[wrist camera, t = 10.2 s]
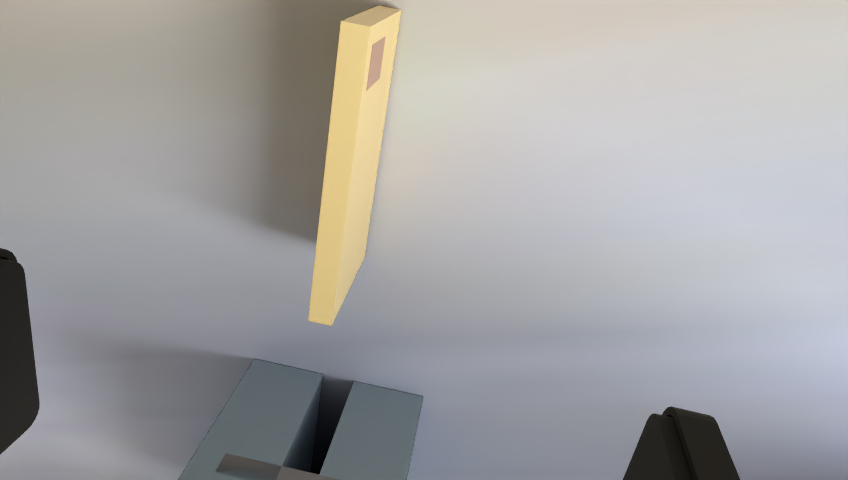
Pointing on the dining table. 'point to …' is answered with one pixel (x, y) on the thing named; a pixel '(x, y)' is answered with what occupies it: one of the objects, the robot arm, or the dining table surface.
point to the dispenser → (305, 431)
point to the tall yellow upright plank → (352, 154)
